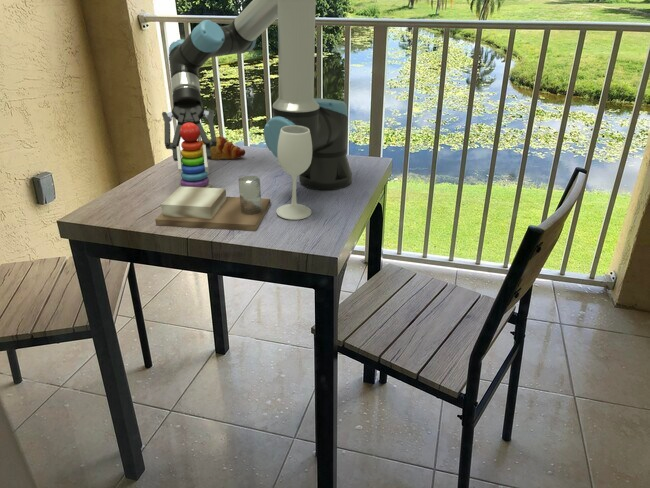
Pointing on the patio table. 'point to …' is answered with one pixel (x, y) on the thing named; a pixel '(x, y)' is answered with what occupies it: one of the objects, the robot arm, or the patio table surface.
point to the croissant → (224, 149)
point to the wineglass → (294, 165)
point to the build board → (221, 217)
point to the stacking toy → (192, 158)
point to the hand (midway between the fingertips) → (193, 170)
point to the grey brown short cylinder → (250, 195)
